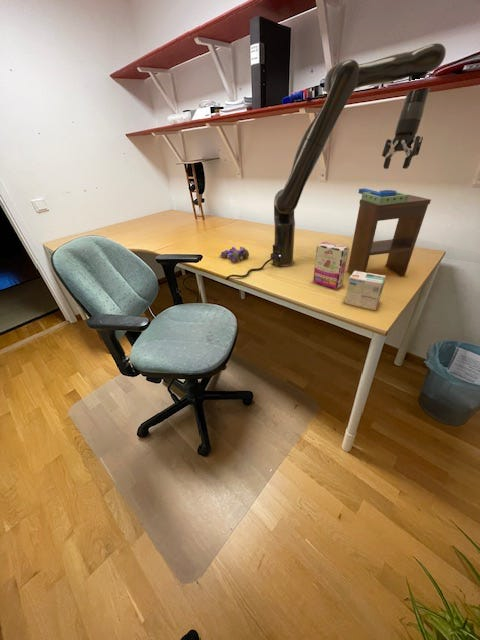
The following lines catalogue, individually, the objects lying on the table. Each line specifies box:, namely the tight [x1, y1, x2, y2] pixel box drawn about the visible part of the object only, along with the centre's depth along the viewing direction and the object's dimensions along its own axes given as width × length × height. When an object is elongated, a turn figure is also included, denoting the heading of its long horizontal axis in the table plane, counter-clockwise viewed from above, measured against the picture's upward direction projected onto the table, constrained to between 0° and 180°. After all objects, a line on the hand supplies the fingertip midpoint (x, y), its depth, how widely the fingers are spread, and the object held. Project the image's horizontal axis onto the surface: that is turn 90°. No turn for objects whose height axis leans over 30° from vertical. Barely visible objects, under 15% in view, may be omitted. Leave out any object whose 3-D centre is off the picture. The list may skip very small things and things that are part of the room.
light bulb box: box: [344, 271, 387, 311], centre depth 90 cm, size 11×7×11 cm, turn 56°
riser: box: [346, 194, 432, 277], centre depth 103 cm, size 12×20×30 cm, turn 99°
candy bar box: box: [312, 241, 350, 290], centre depth 102 cm, size 11×5×16 cm, turn 45°
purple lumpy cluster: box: [219, 246, 250, 264], centre depth 136 cm, size 10×15×6 cm, turn 43°
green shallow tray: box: [361, 189, 409, 205], centre depth 93 cm, size 12×10×2 cm
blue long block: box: [358, 187, 398, 197], centre depth 97 cm, size 20×5×3 cm, turn 9°
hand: (395, 168), depth 105 cm, fingers open, 8 cm apart
